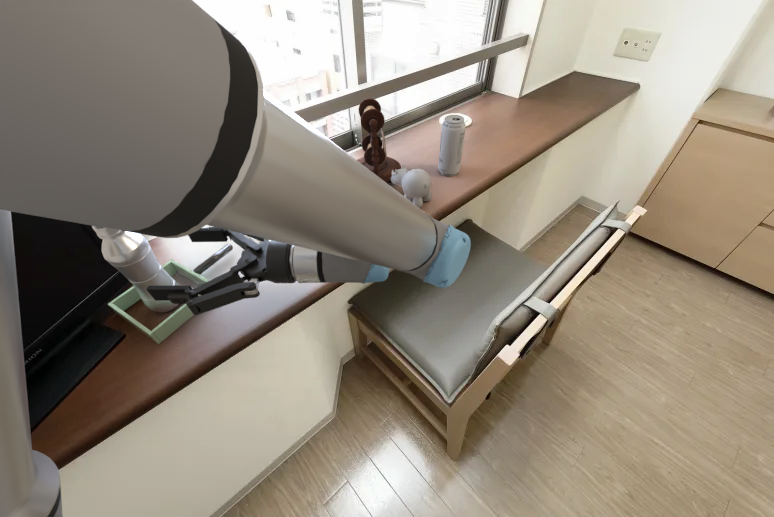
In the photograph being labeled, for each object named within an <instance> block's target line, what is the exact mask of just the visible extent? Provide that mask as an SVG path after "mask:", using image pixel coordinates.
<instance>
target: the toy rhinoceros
mask: <svg viewBox="0 0 774 517" xmlns="http://www.w3.org/2000/svg"><path fill="white" fill-rule="evenodd" d="M391 182H392V183H391V184H393V185H394V186H395V185H396V186H400V187H401V188H402V190H403V193H404V194H403V196H404V197H406V198H407V199H408V200H410V201H411V202H412V203H413V204H415V205H416V206H417V207H419V208H420V209H421V208H422V207H423V204H424V202H430V201H431V200H432V197H433V194H432V191H431V188H432V179H431V177H430V175H429V173H428V172H427V171H425V170H424V169H421V168H412V169H410V170H407V168H406V165H405V164H403V165H402V166H401V169H399V170H396V169H395V173H394V171H393V170H392V177H391Z"/></svg>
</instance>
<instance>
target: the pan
mask: <svg viewBox="0 0 774 517" xmlns="http://www.w3.org/2000/svg"><path fill="white" fill-rule="evenodd" d="M233 249H234V246H233V245H232V244H231V243H227V244H225V245H224V246H223V247H221V248H220V249H219V250H217V251H215V253H213V254H212V255H210V256H209V257H208V258H206V259H205V260H204V261H203V262H201V263H199V264H198V265H197V266H196V267H194V268H193V270H191V269H190V268H188V267H186V266H185V265H182V264H181V263H180V262H177V261H175V260H174V259H170V260H168V261H167V262H166V263H164V264H163V265H161V266H162V267H163V269H164V270H165V271H166V272H167V273H168V274H169V275H170V276H171V277H173V276H174V275H175V274H177V273H179V274H180V275H182V276H184V277H185V278H188V279H189V280H191V281H193V282H194V283H196V284H198V285H199V286H200V285H202V284H204V283H206V282H208V281H210V279H208V278H206V277H204V276H203V275H202V274H203V273H205V272H206V271H207V270H209V269H210V268H211V267H212V266H214V265H215V264H216V263H217V262H218V261H220V260H221V259H223V258H224V257H225V256H226V255H228V254H229V253H230V252H232V251H233ZM199 296H201V295H200V294H199ZM140 300H142V299H141V297H140V294H139V293H138V292H137V290H136V289H135V287H134V286H133V285H132V286H131V287H130V288H128V289H127V290H125V291H124V292H123V293H121V294H119V295H118V296H117V297H115V298H114V299H112V300H111V301H109V302H108V303H107V306H109V308H110V309H112V310H113V312H114V313H116V314H117V315H118V316H119V317H121V319H123V320H125V321H126V322H128V323H129V324H131V326H133V327H134V328H136V329H137V330H138V331H140V332H141V333H143V334H144V335H145V336H146V337H148V338H149V339H151V340H152V341H154V343H156V344H158V345H160V344H161V343H162V342H164V341H165V340H166V339H167V338H168V337H169V336H171V335H172V334H173V333H174V332H175V331H177V330H178V329H179V328H180V327H181V326H183V324H185V323H186V322H187V321H188V320H190V319H191V318H192V317H193V316H195V315H194V314H193V313H192V312H191V310H190V309H189V308H188V306H187V305H186V304H182V305H181V306H180V307H179V308H178V309H176V310H175V311H173V313H171V314H170V315H169V316H168V317H166V318H165V319H164V320H163V321H161V322H160V323H159V324H158V325H157V326H155V327H154V328H152V330H150V329H149V328H148V327H146V326H145V325H143V324H142V323H141V322H139V321H138V320H136V319H135V318H134V317H133V316H131V315H130V314H128V313H127V312H125V311H127V310H128V309H129V308H130V307H132V306H133V305H134V304H136V303H138V301H140Z"/></svg>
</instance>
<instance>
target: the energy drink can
mask: <svg viewBox="0 0 774 517" xmlns="http://www.w3.org/2000/svg"><path fill="white" fill-rule="evenodd" d="M466 128H467V125H466V123H465V118H464V117H463V116H462V115H459V114H449V115H446V116H445V117H444V121H443V122H442V123H441V130H440V141H439V154H438V164H437V165H438V166H437V169H438V172H439V173H440V174H441V175H442V176H444V177H454V176H456V175H457V174H458V173H459V172H460V170H461V165H462V157H463V150H464V143H465V142H464V141H465V134H466Z"/></svg>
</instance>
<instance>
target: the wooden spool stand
mask: <svg viewBox="0 0 774 517" xmlns="http://www.w3.org/2000/svg"><path fill="white" fill-rule="evenodd" d="M358 114H359V117H360V124H361V127H362V128H363V130H364V131H366V132H367V133H368V134H367V135H366V136H365V137H363V139H362V141H361V148H362V151H363V152H364V153H363V157H360V158H358V159H356V160H357V161H358V162H360V163H361V164H362V165H364V166H365V167H366V168H368V169H369V170H370V171H371V172H373V173H374V174H375V175H377V176H378V177H379V178H381V179H382V180H383V181H385V182H386V183H387V184H389V185H391V184H393V183H392V182H391V177H392V170H393V171H394V173H395V169H396V170H399V169H401V168H402V165H401V163H400V162H399V161H398V160H397V159H394V158H392V157H390V156H387V146H386V136H385V131H384V125H385V120H386V119H385V116H384V114H383V112H382V107H381V104H380V102H379V101H378V100H377V99H374V98H371V97H370V98H365V99H364V100H362V101H361V102H360V104H359V106H358ZM379 132H380V134H381V137H380V136H379V135H378V133H379Z"/></svg>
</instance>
